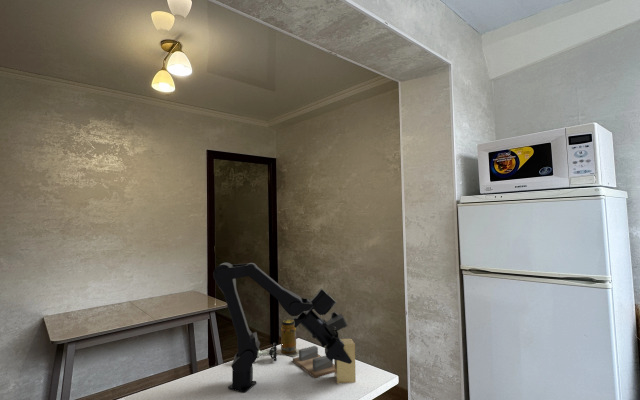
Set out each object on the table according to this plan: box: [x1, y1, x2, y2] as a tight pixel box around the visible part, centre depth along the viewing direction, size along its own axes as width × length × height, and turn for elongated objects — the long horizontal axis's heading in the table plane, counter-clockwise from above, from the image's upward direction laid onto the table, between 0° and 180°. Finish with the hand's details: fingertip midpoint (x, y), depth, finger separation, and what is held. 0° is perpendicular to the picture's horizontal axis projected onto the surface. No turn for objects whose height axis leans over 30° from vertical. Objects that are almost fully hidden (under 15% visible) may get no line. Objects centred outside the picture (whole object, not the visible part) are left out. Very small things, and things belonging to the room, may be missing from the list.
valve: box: [252, 342, 278, 365], centre depth 120 cm, size 7×7×12 cm
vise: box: [292, 345, 335, 379], centre depth 117 cm, size 16×10×4 cm, turn 32°
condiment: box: [276, 319, 300, 358], centre depth 130 cm, size 7×8×12 cm
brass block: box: [333, 338, 357, 384], centre depth 106 cm, size 6×5×12 cm
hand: (348, 358), depth 107 cm, fingers open, 7 cm apart
